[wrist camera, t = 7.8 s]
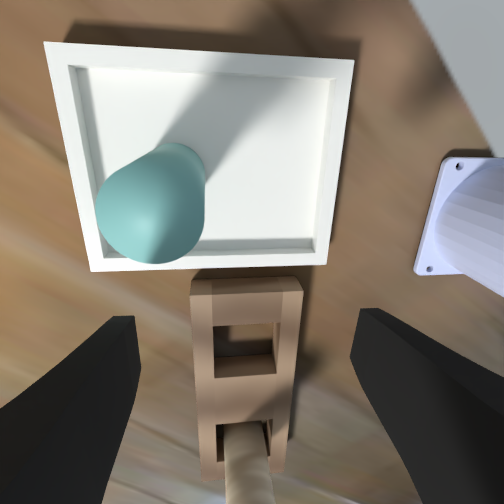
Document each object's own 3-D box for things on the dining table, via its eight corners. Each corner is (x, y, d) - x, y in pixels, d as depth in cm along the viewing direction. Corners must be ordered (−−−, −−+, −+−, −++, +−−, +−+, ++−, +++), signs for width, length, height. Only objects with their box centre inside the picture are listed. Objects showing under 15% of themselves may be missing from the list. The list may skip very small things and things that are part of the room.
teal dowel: (202, 142, 16) (200, 161, 9) (207, 201, 17) (208, 260, 10) (140, 143, 15) (83, 164, 8) (149, 203, 17) (107, 267, 10)
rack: (191, 279, 20) (189, 295, 18) (295, 276, 20) (303, 290, 19) (202, 457, 27) (201, 481, 25) (278, 448, 28) (283, 471, 26)
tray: (342, 65, 16) (354, 60, 14) (318, 255, 20) (326, 264, 19) (58, 49, 14) (43, 41, 13) (99, 261, 18) (90, 271, 17)
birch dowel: (261, 402, 25) (281, 518, 18) (259, 429, 26) (278, 547, 19) (222, 406, 25) (227, 525, 17) (223, 432, 26) (227, 554, 18)
